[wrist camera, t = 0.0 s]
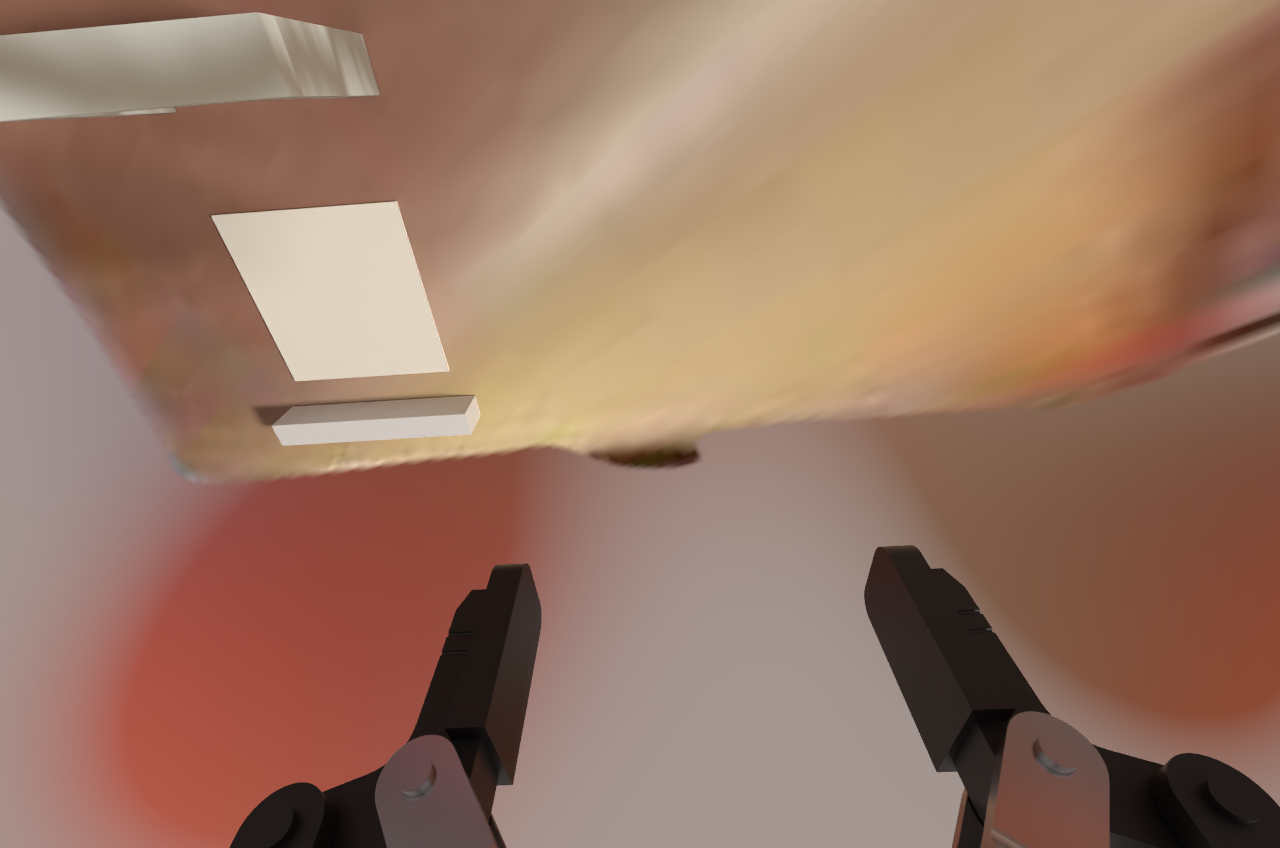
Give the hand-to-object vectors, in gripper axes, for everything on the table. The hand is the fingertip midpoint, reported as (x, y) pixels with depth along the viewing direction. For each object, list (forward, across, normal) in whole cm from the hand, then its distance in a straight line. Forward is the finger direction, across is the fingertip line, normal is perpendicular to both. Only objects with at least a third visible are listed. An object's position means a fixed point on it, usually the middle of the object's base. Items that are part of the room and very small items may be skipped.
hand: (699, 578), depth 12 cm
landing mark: (+29, +24, +2) cm, 38 cm away
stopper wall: (+29, +24, +12) cm, 40 cm away
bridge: (+29, +24, -12) cm, 40 cm away
